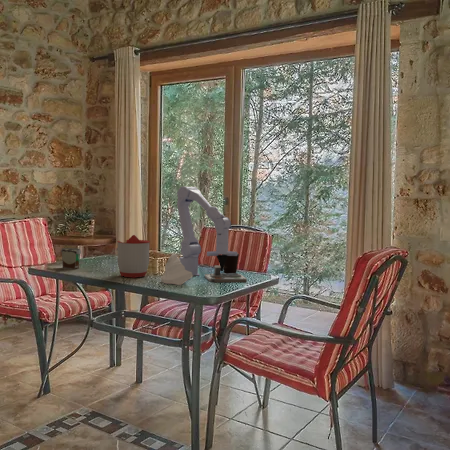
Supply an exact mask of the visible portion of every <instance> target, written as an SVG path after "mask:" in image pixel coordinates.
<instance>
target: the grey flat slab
mask: <svg viewBox="0 0 450 450" xmlns="http://www.w3.org/2000/svg"><path fill="white" fill-rule="evenodd" d="M207 274H208V275H205V274H204V278H205V279H207V281H208V282H212V279H246V282H247V277H245V275H242V274H241V273H238V272H236V273H224V272H223V273H222V272H220V274H221V275H213V274H214V273H207Z"/></svg>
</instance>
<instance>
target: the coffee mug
mask: <svg viewBox="0 0 450 450" xmlns="http://www.w3.org/2000/svg"><path fill="white" fill-rule="evenodd" d="M221 255H226V254H221ZM239 257H240V256H239V253H238V252H237V256H227V260H226V261H225V264H224V267H223V273H237V271H238V262H239Z"/></svg>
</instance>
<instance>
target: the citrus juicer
mask: <svg viewBox="0 0 450 450" xmlns="http://www.w3.org/2000/svg"><path fill="white" fill-rule="evenodd" d="M150 242H151V241H150V240H145V239H139V237H137V235H135V234H133V235H131V237H129V238H128V239H126V242H122V241H120V240H117V247H116V251H117V266H118V267H117V268H118V269H119V272H118V273H119V274H120V276H121V277H123V276H124V277H125V278H131V279H136V278H141V277H145V276H146V275H147V272H148V268H149V266H150V265H149V264H150Z"/></svg>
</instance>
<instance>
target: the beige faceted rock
mask: <svg viewBox="0 0 450 450" xmlns="http://www.w3.org/2000/svg"><path fill="white" fill-rule="evenodd" d="M164 265H165V272H164V274H163V275H162V276H161V277H160V281H161V282H162V283H163V284H168V285H169V284H170V285H177V286H182V285H183V284H184V283H186V282H187V281H189V280H190V279H191V278H193V275H192V272H189V271H187V270H185V266H183V265H182V264H181V262H180V260H179V258H178V254H176V253H173V252H172V253H171V254H170V256H169V257H168V259H167V262H166V263H165V264H164Z"/></svg>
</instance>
